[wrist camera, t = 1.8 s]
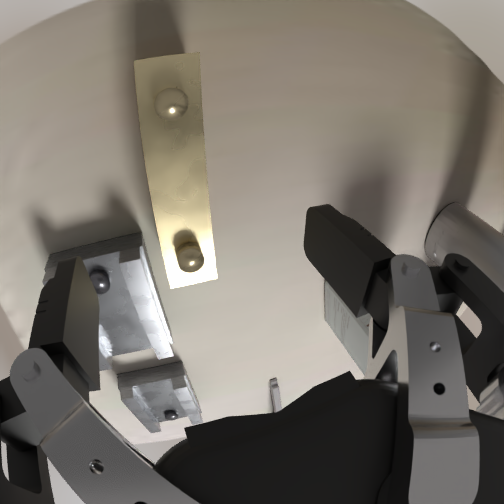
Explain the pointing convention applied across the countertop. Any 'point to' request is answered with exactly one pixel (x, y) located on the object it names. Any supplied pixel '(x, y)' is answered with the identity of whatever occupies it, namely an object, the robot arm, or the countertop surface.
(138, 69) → the chain link plate
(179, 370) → the metal brackets
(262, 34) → the countertop surface
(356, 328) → the supplement box
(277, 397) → the caliper
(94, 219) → the countertop surface
